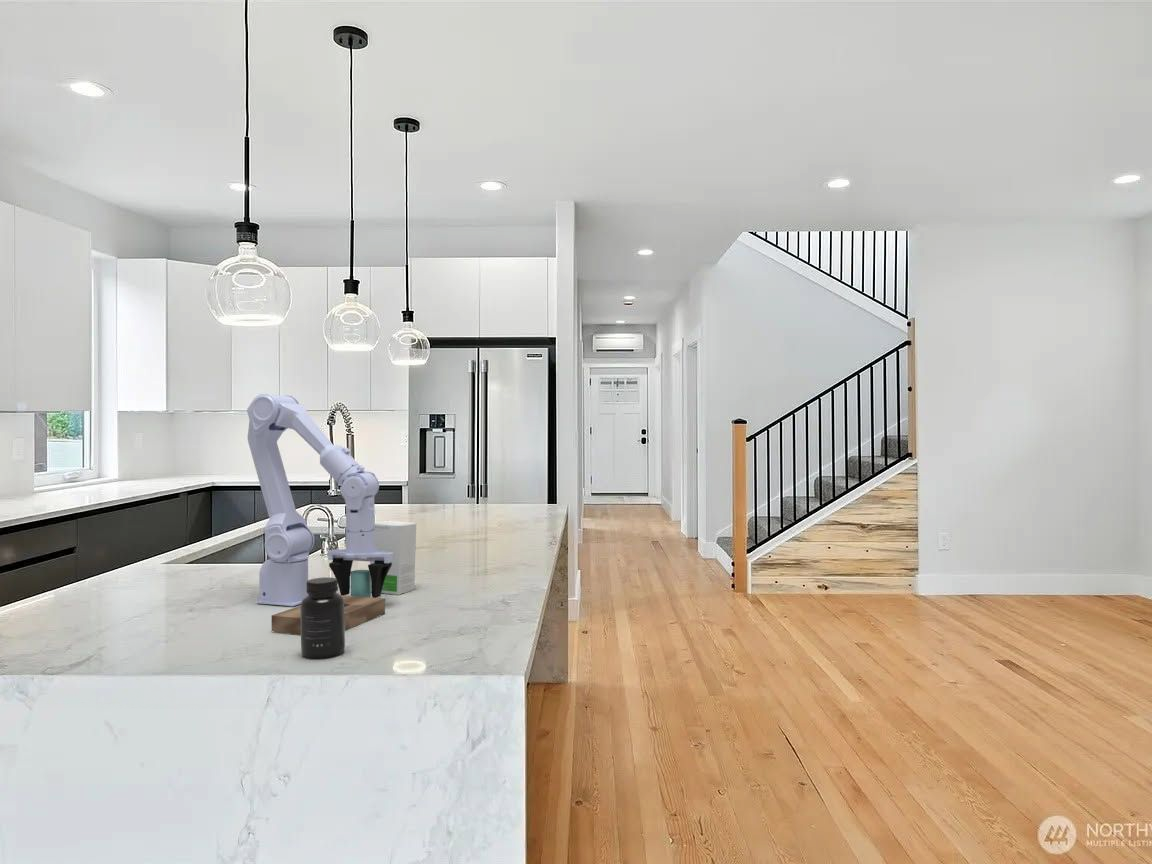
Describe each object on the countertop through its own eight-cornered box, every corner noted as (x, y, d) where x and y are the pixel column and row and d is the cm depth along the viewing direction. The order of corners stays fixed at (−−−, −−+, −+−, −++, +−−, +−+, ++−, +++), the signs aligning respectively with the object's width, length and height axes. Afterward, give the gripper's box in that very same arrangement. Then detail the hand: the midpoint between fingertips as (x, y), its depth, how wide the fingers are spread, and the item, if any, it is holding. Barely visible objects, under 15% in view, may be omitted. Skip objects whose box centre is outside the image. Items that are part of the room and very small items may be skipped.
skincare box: (368, 592, 169) (368, 523, 169) (386, 586, 175) (386, 519, 175) (400, 595, 166) (399, 524, 166) (417, 589, 172) (417, 521, 172)
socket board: (271, 632, 136) (271, 615, 136) (333, 609, 153) (333, 594, 153) (327, 637, 132) (327, 620, 132) (384, 613, 149) (384, 598, 149)
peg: (346, 606, 156) (346, 572, 156) (358, 602, 159) (357, 569, 159) (363, 608, 154) (363, 573, 154) (374, 603, 158) (374, 570, 158)
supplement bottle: (307, 647, 126) (306, 576, 126) (348, 646, 127) (348, 575, 127) (295, 660, 119) (295, 584, 119) (339, 659, 120) (339, 583, 120)
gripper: (318, 531, 155) (319, 597, 155) (379, 534, 151) (380, 602, 151) (339, 527, 162) (339, 590, 162) (398, 529, 158) (399, 594, 158)
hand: (360, 595), depth 157 cm, fingers open, 7 cm apart
